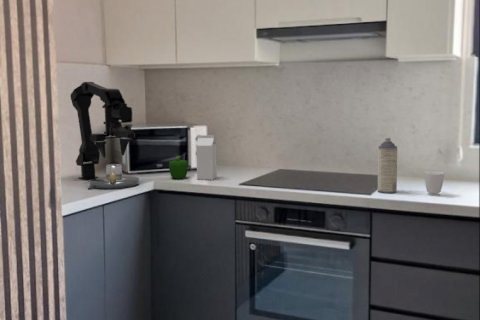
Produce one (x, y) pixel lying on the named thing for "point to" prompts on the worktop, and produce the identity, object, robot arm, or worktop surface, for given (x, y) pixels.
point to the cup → (434, 182)
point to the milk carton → (206, 157)
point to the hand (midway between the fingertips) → (113, 156)
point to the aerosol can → (387, 167)
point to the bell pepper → (178, 168)
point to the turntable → (114, 182)
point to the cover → (114, 171)
